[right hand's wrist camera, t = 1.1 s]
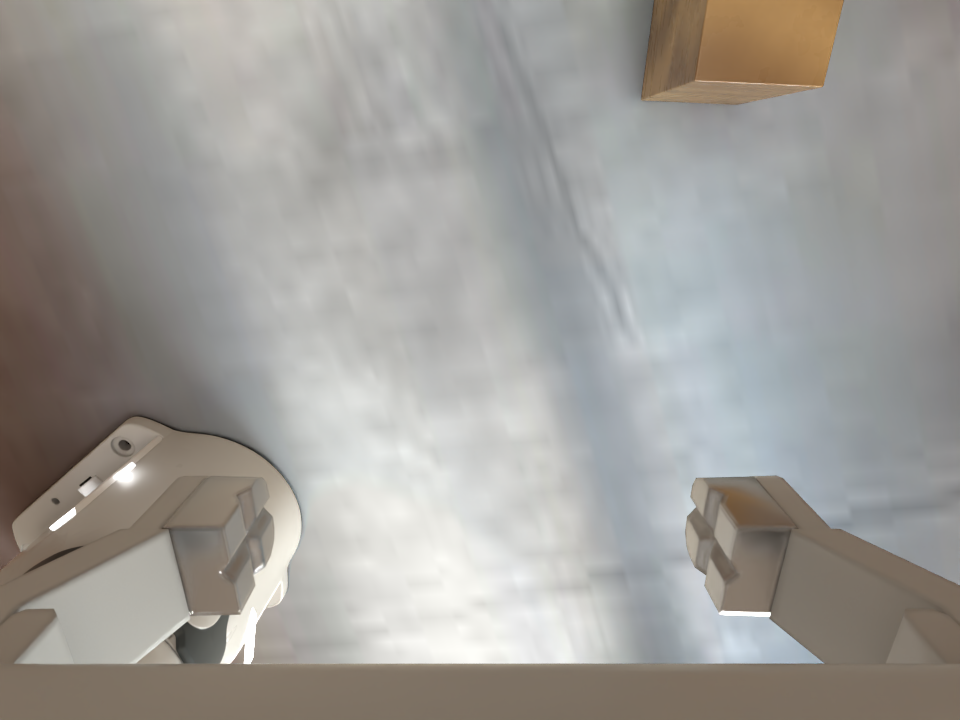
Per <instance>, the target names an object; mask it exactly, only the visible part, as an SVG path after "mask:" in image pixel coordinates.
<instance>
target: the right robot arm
mask: <svg viewBox="0 0 960 720" xmlns="http://www.w3.org/2000/svg"><path fill="white" fill-rule="evenodd" d="M125 441H127V442H129V443H130V445H128V444H127V443H126V442H125ZM690 497H691V499H692V500H693V502H694V504H695V505H696V508H695V509H694V510H693V511H692V512H691V513H690V514H689V515H688V516H687V521H686V529H685V535H686V546H687V549H688V553H689V556H690V559H691V561H692V563H693V565H694V567H695V568H696V569H698V570H699V571H701V572H702V573H704V574H705V575H706V580H705V585H704V586H705V588H706V590H707V591H708V593H709V595H710V597H711V599H712V601H713V603H714V605H715V606H716V608H717V610H718V612H719V614H720V615H747V616H770V617H769V619H771V620H772V621H773V622H774V623H776V624H777V625H778V626H779V627H780V628H782V629H783V630H784V631H785V632H787V633H788V634H789V635H790V636H792V637H793V638H794V639H795V640H796V641H798V642H799V643H800V644H801V645H803V646H804V647H805V648H806V649H808V650H809V651H810V652H811V653H812V654H814V655H815V656H816V657H817V658H819V659H820V660H821V661H822V662H823V663H825V664H250V662H251V660H252V658H253V652H254V638H255V624H256V623H257V621H258V619H259V618H260V616H261V614H262V613H263V611H264V609H265V608H269V607H273V606H276V605H277V604H279V603H280V602H281V600H282V599H283V597H284V595H285V594H286V592H287V587H288V574H287V568H288V565H289V562H290V560H291V558H292V557H293V555H294V553H295V551H296V549H297V547H298V544H299V541H300V536H301V529H302V522H301V513H300V509H299V505H298V502H297V500H296V497H295V495H294V493H293V491H292V489H291V488H290V486H289V484H288V483H287V481H286V480H285V479H284V478H283V476H282V475H281V474H280V473H279V472H278V471H277V470H276V469H275V468H274V467H273V466H272V465H271V464H270V463H269V462H268V461H266V460H265V459H264V458H263V457H261V456H260V455H258V454H257V453H255V452H254V451H252V450H250V449H248V448H247V447H244V446H242V445H240V444H238V443H236V442H233V441H230V440H227V439H224V438H221V437H217V436H212V435H206V434H197V433H186V432H180V431H176V430H173V429H171V428H169V427H166V426H164V425H162V424H160V423H157V422H155V421H153V420H150V419H147V418H143V417H131V418H129V419H128V420H126V421H125V422H124V423H123V424H122V425H120V426H119V427H118V428H117V429H116V430H115V431H114V432H113V433H111V434H110V435H109V436H108V437H107V438H106V439H105V440H103V441H102V442H101V443H100V444H99V445H98V446H97V447H96V448H94V449H93V450H92V451H91V452H90V453H89V454H88V455H86V456H85V457H84V458H83V459H82V460H81V461H80V462H79V463H77V464H76V465H75V466H74V467H73V468H72V469H71V470H70V471H68V472H67V473H66V474H65V475H64V476H63V477H62V478H60V479H59V480H58V481H57V482H56V483H55V484H54V485H53V486H51V487H50V488H49V489H48V490H47V491H46V492H45V493H44V494H42V495H41V496H40V497H39V498H38V499H37V500H36V501H34V502H33V503H32V504H31V505H30V506H29V507H28V508H27V509H26V510H24V511H23V512H22V513H21V514H20V515H19V516H18V517H17V518H16V519H15V520H14V522H13V523H12V529H13V534H14V537H15V540H16V543H17V545H18V547H19V549H20V551H21V553H20V554H18V555H17V556H16V557H15V558H14V559H13V560H12V561H10V562H9V563H8V564H7V565H6V566H5V567H4V568H2V569H1V570H0V720H960V585H957V584H955V583H953V582H951V581H949V580H947V579H945V578H943V577H940V576H938V575H936V574H934V573H932V572H930V571H928V570H926V569H924V568H921V567H919V566H917V565H915V564H913V563H911V562H909V561H907V560H905V559H902V558H900V557H898V556H896V555H894V554H892V553H890V552H888V551H886V550H883V549H881V548H879V547H877V546H875V545H873V544H871V543H869V542H866V541H864V540H862V539H860V538H858V537H856V536H854V535H852V534H850V533H847V532H845V531H843V530H841V529H831V528H830V527H829V526H828V525H827V524H826V523H825V522H824V521H823V520H822V519H821V518H820V517H819V516H818V515H817V514H816V512H815V511H814V510H813V509H812V508H811V507H810V506H809V505H808V504H807V503H806V502H805V501H804V500H803V499H802V498H801V497H800V496H799V495H798V494H797V492H796V491H795V490H794V489H793V488H792V487H791V486H790V485H789V484H788V483H787V482H786V481H785V480H784V479H783V478H781V477H779V476H776V475H775V476H750V477H715V478H696V479H695V481H694V483H693V485H692V490H691V496H690ZM245 641H246V643H245V659H244V664H230V663H231V662H232V661H233V660H234V658H235V657H236V655H237V654H238V652H239V651H240V649H241V647H242V646H243V644H244V642H245Z"/></svg>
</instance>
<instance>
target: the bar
mask: <svg viewBox="0 0 960 720" xmlns="http://www.w3.org/2000/svg"><path fill="white" fill-rule="evenodd" d="M843 1H844V0H654V6H653V14H652V21H651V29H650V36H649V44H648V52H647V59H646V67H645V74H644V82H643V89H642V97H641V100H645V101H667V102H689V103H711V104H733V105H738V104H743V103H748V102H752V101H757V100H762V99H767V98H772V97H777V96H782V95H786V94H791V93H796V92H801V91H806V90H811V89H815V88H820V87H823V85H824V81H825V77H826V72H827V68H828V64H829V60H830V56H831V51H832V47H833V43H834V39H835V35H836V30H837V26H838V22H839V18H840V14H841V10H842V5H843Z"/></svg>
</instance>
